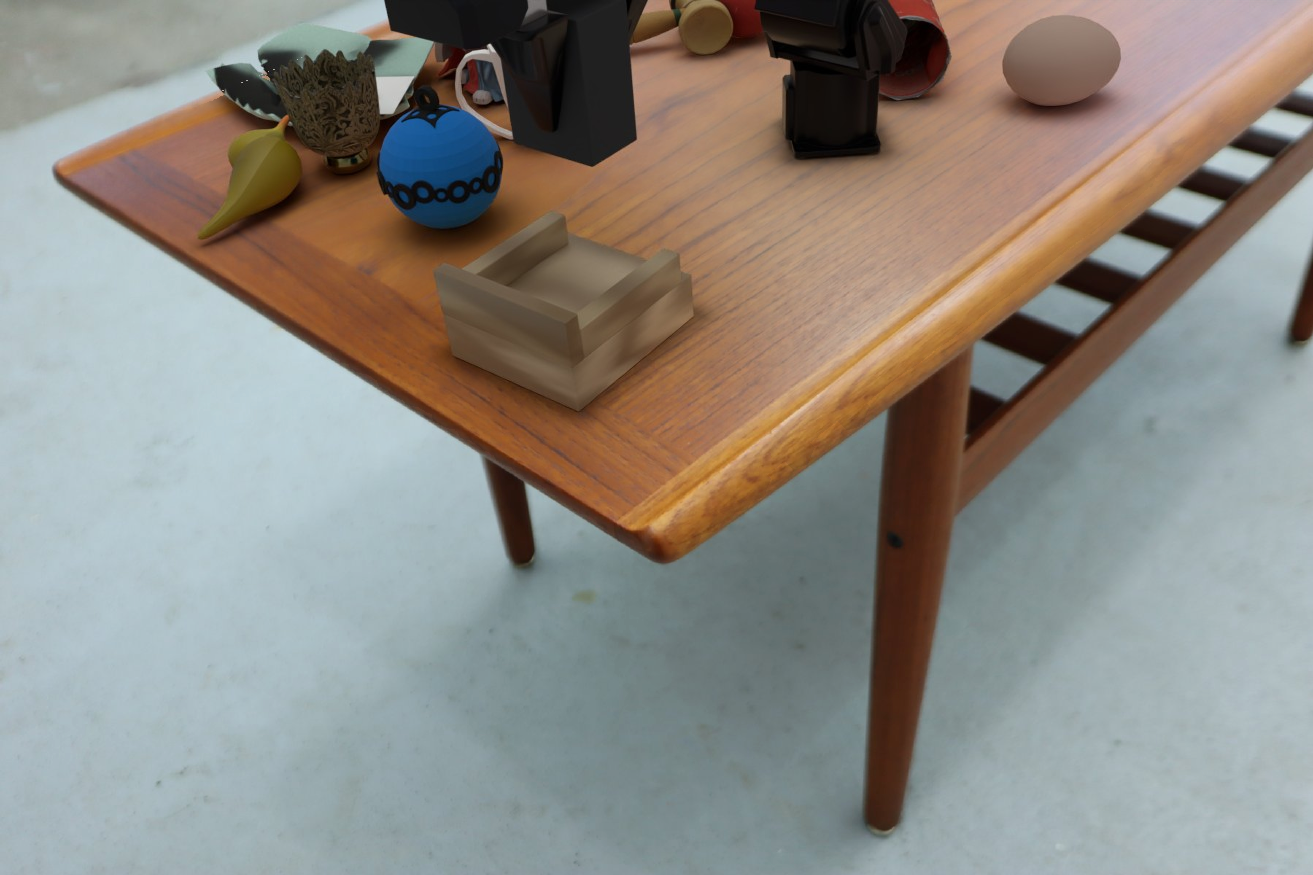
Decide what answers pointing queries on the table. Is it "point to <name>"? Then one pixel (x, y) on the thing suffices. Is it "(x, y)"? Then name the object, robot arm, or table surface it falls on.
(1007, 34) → the table surface
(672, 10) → the kendama
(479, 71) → the figurine
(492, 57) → the cup
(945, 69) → the beverage can
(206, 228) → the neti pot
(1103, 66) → the egg
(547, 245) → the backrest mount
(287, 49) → the cloth
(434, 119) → the ornament
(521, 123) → the black rectangular block
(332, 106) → the cup
